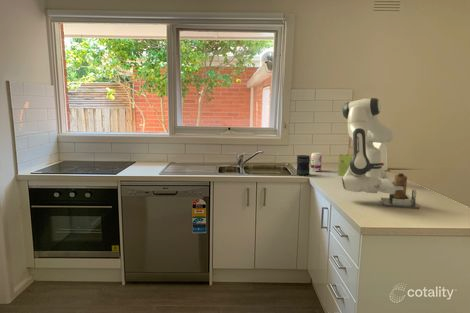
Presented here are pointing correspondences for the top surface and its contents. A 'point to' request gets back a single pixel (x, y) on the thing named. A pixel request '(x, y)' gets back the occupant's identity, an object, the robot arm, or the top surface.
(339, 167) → the protein box
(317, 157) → the supplement can
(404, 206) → the keeper bracket
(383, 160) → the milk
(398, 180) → the walnut toggle block
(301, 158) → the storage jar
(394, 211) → the top surface
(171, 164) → the top surface
